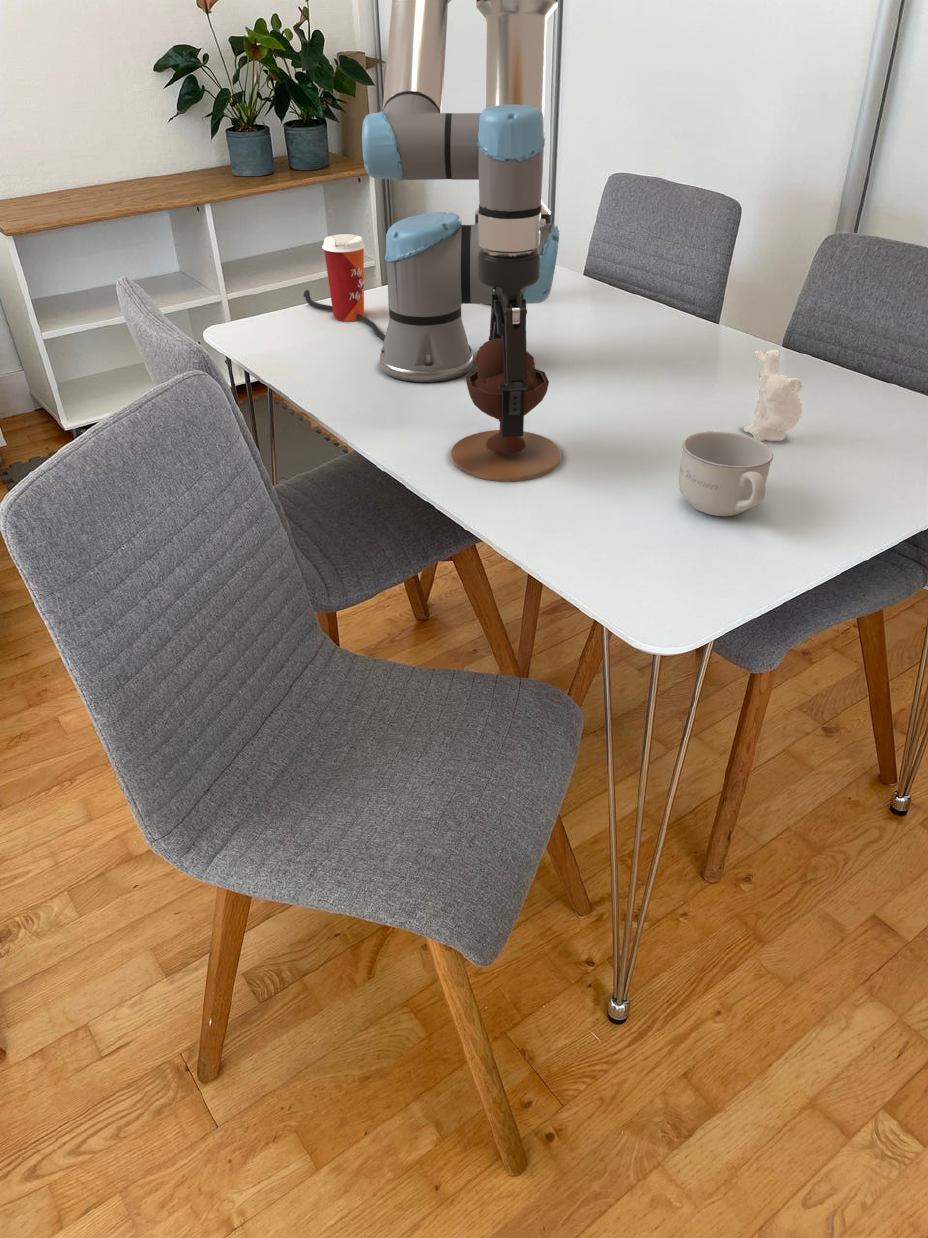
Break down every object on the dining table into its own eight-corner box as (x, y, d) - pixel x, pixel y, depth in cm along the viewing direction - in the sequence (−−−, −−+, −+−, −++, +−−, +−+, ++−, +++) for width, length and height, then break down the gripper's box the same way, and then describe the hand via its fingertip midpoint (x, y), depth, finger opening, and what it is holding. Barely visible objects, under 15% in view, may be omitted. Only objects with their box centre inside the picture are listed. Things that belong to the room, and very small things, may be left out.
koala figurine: (728, 430, 145) (740, 348, 138) (765, 421, 147) (779, 341, 140) (766, 453, 138) (781, 369, 131) (805, 443, 141) (821, 360, 134)
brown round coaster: (428, 460, 137) (428, 456, 137) (496, 424, 147) (496, 420, 146) (516, 492, 129) (516, 488, 129) (581, 452, 139) (582, 448, 139)
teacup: (665, 486, 130) (672, 429, 126) (747, 482, 131) (757, 425, 126) (695, 541, 119) (703, 480, 114) (784, 536, 120) (796, 476, 115)
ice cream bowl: (540, 465, 132) (545, 354, 123) (457, 458, 134) (456, 348, 125) (551, 432, 140) (556, 326, 132) (473, 426, 142) (472, 321, 134)
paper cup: (367, 323, 184) (362, 244, 176) (325, 323, 184) (318, 244, 176) (371, 309, 190) (366, 232, 182) (330, 309, 191) (324, 232, 183)
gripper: (556, 275, 113) (548, 453, 125) (525, 223, 132) (521, 382, 145) (490, 277, 112) (488, 456, 125) (468, 225, 132) (469, 385, 144)
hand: (506, 417), depth 135 cm, fingers closed on ice cream bowl, 11 cm apart
